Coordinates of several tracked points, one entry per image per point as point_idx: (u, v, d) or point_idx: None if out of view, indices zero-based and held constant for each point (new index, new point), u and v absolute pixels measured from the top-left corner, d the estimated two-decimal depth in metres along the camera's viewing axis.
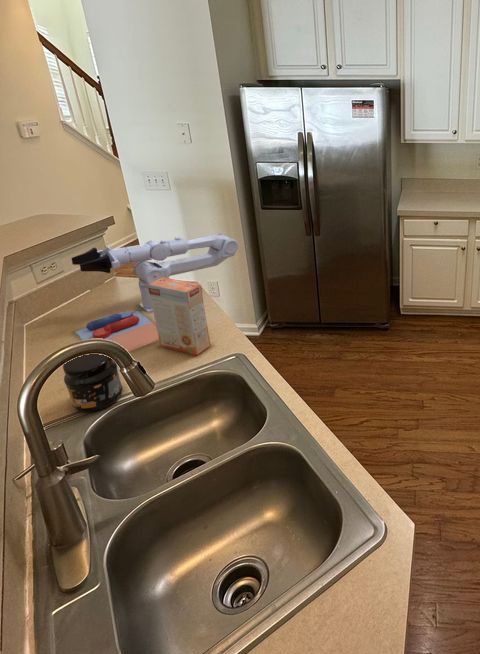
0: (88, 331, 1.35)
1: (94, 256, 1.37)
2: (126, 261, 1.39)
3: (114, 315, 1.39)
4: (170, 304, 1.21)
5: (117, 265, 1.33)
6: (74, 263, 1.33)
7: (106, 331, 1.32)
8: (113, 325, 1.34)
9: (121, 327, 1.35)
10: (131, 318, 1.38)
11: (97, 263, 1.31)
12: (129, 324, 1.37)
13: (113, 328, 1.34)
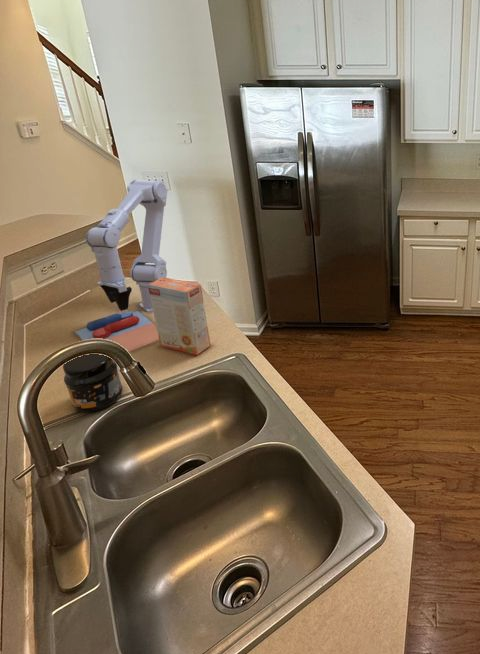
0: (88, 331, 1.35)
1: None
2: (117, 270, 1.29)
3: (114, 315, 1.39)
4: (170, 304, 1.21)
5: (123, 287, 1.27)
6: None
7: (106, 331, 1.32)
8: (113, 325, 1.34)
9: (121, 327, 1.35)
10: (131, 318, 1.38)
11: (119, 298, 1.30)
12: (129, 324, 1.37)
13: (113, 328, 1.34)
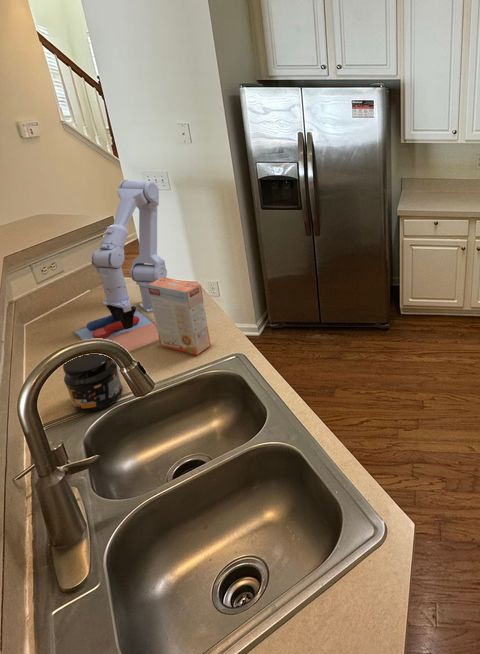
0: (88, 331, 1.35)
1: None
2: (122, 289, 1.32)
3: None
4: (170, 304, 1.21)
5: (128, 307, 1.30)
6: None
7: (106, 331, 1.32)
8: (113, 325, 1.34)
9: (121, 327, 1.35)
10: None
11: (124, 317, 1.32)
12: None
13: (113, 328, 1.34)
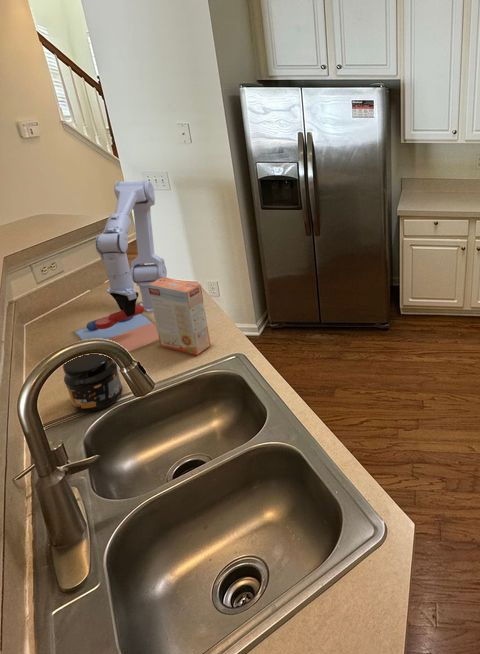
0: (88, 331, 1.35)
1: (121, 294, 1.29)
2: (127, 276, 1.25)
3: None
4: (170, 304, 1.21)
5: (133, 295, 1.23)
6: None
7: (110, 320, 1.26)
8: (117, 314, 1.27)
9: (125, 316, 1.29)
10: (136, 307, 1.31)
11: (126, 303, 1.27)
12: None
13: (117, 317, 1.27)
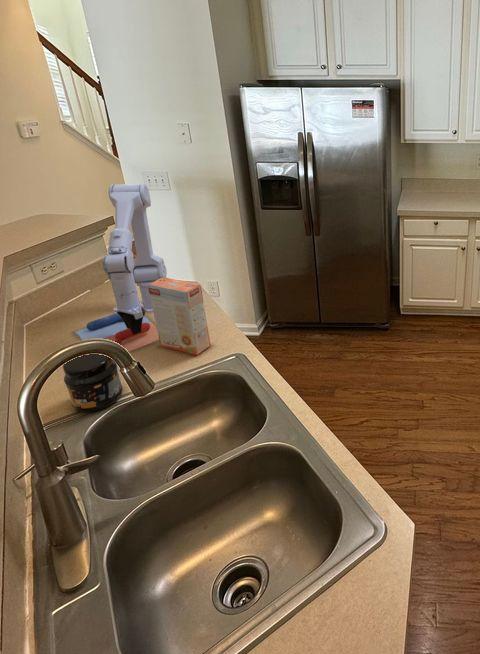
0: (88, 331, 1.35)
1: (127, 312, 1.30)
2: (133, 295, 1.26)
3: (114, 315, 1.39)
4: (170, 304, 1.21)
5: (139, 314, 1.24)
6: None
7: (116, 339, 1.27)
8: (123, 332, 1.28)
9: (132, 334, 1.30)
10: (142, 325, 1.32)
11: (132, 322, 1.28)
12: None
13: (124, 336, 1.28)
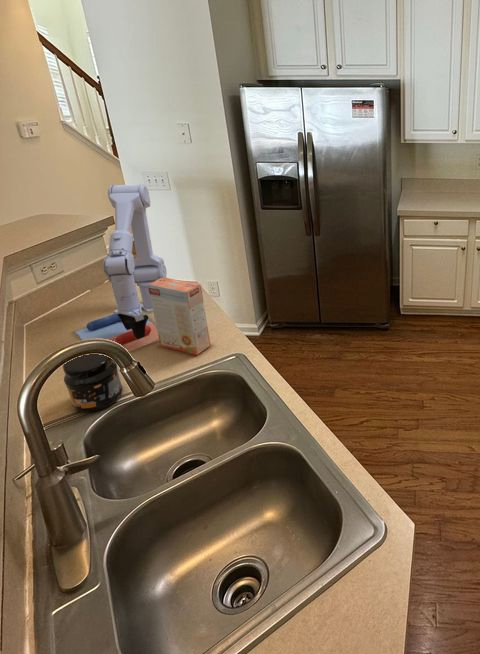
0: (88, 331, 1.35)
1: None
2: (134, 298, 1.26)
3: (114, 315, 1.39)
4: (170, 304, 1.21)
5: (140, 316, 1.24)
6: None
7: (117, 342, 1.27)
8: (124, 336, 1.29)
9: (132, 338, 1.30)
10: None
11: (136, 326, 1.27)
12: None
13: (124, 339, 1.28)
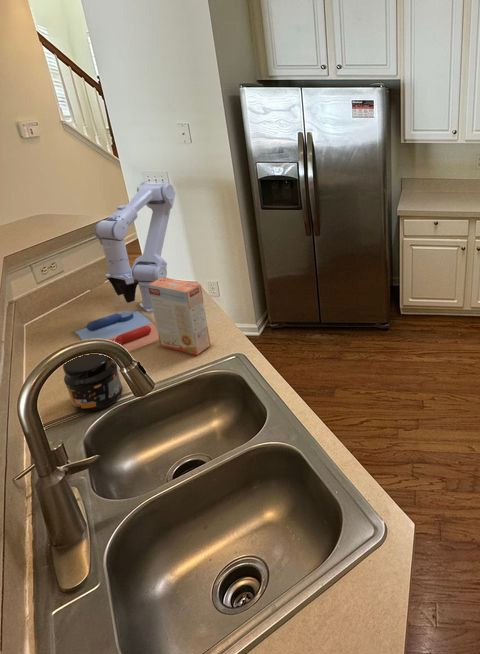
0: (88, 331, 1.35)
1: (116, 277, 1.37)
2: (124, 262, 1.32)
3: (114, 315, 1.39)
4: (170, 304, 1.21)
5: (130, 279, 1.30)
6: None
7: (117, 342, 1.27)
8: (124, 336, 1.29)
9: (132, 338, 1.30)
10: (143, 328, 1.32)
11: (126, 290, 1.33)
12: (141, 334, 1.32)
13: (124, 339, 1.28)
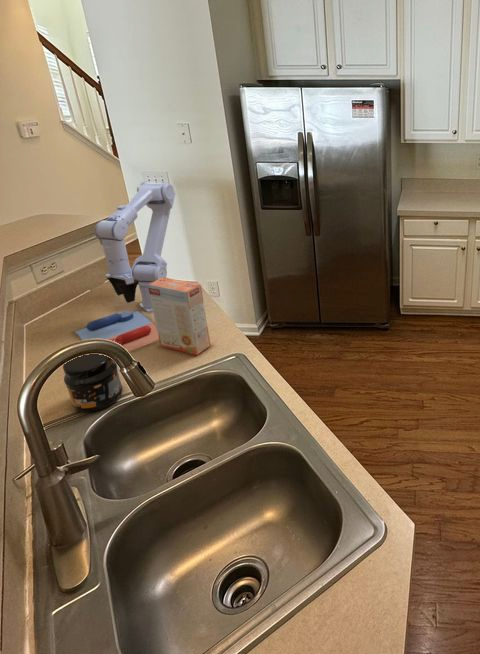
0: (88, 331, 1.35)
1: (116, 277, 1.37)
2: (124, 262, 1.32)
3: (114, 315, 1.39)
4: (170, 304, 1.21)
5: (130, 279, 1.30)
6: None
7: (117, 342, 1.27)
8: (124, 336, 1.29)
9: (132, 338, 1.30)
10: (143, 328, 1.32)
11: (126, 290, 1.33)
12: (141, 334, 1.32)
13: (124, 339, 1.28)
